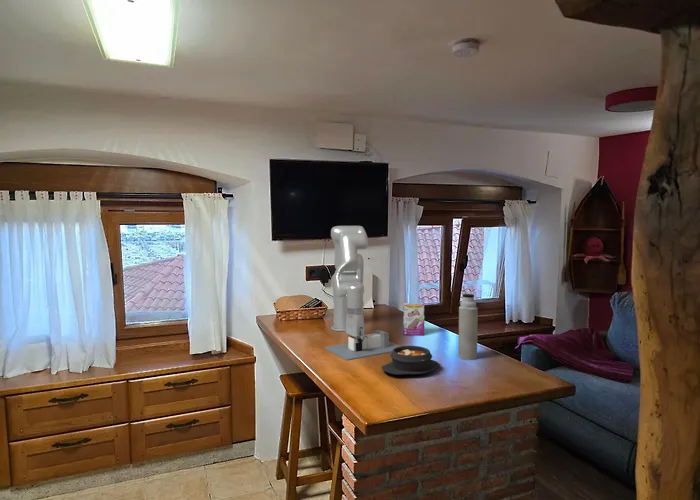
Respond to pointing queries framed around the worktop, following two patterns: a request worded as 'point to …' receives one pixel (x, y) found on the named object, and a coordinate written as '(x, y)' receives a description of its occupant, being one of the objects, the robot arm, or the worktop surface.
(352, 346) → the white and peach box
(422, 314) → the candy bar box
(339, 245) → the robot arm
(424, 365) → the casserole
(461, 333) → the thermos bottle
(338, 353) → the grey board with blocks
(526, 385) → the worktop surface
